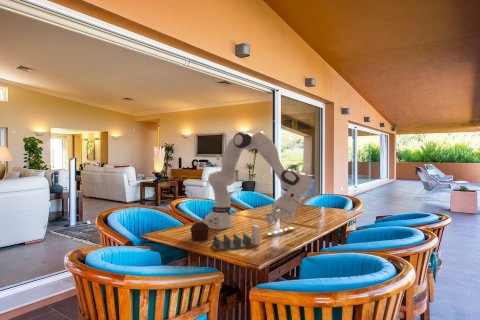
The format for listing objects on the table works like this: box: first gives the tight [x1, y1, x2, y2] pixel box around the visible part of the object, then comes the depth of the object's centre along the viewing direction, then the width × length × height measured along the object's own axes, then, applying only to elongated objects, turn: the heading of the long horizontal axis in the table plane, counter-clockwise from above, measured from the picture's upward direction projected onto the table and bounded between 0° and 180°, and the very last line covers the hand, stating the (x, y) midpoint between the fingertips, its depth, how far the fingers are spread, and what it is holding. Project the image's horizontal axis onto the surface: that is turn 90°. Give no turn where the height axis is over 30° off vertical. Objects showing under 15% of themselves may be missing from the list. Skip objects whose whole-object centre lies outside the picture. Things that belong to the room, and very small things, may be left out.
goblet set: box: [265, 209, 296, 235], centre depth 207 cm, size 28×6×13 cm, turn 133°
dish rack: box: [212, 232, 253, 252], centre depth 172 cm, size 19×14×5 cm
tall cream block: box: [251, 224, 261, 246], centre depth 176 cm, size 3×5×10 cm, turn 17°
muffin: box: [189, 221, 210, 242], centre depth 184 cm, size 12×11×10 cm
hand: (276, 214), depth 180 cm, fingers open, 8 cm apart
